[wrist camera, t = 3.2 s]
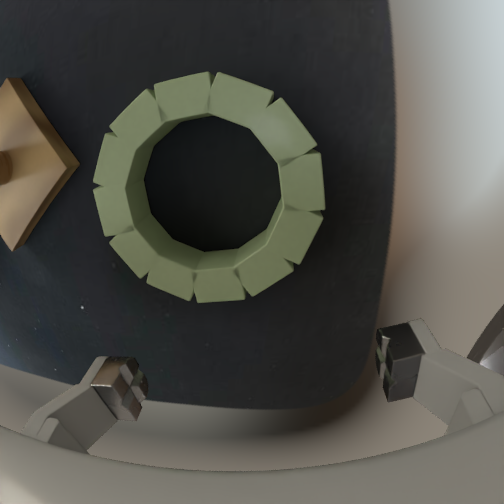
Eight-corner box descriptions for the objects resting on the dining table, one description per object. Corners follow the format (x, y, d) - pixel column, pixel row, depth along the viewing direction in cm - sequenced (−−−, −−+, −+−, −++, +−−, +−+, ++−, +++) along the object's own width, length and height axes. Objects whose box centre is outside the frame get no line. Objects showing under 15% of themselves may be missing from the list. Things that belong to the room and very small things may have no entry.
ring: (356, 208, 17) (369, 222, 14) (201, 311, 20) (192, 334, 18) (227, 40, 13) (219, 27, 11) (84, 175, 17) (61, 183, 14)
